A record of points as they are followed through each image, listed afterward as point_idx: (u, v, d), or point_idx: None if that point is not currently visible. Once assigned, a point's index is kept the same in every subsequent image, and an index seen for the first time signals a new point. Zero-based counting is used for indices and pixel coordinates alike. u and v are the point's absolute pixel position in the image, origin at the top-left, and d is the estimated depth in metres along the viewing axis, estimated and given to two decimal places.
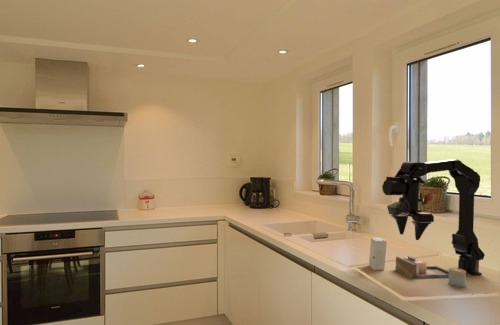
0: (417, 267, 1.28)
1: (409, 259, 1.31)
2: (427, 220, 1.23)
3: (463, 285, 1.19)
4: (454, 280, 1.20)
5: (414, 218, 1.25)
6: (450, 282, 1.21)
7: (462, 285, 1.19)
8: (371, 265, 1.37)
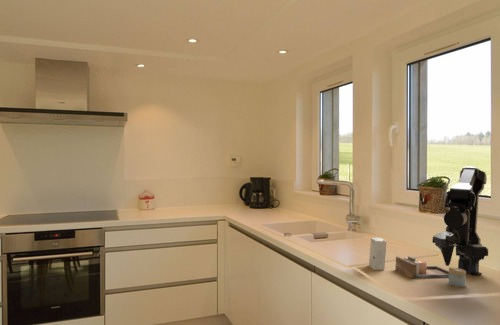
0: (417, 267, 1.28)
1: (409, 259, 1.31)
2: (481, 254, 1.12)
3: (463, 285, 1.19)
4: (454, 280, 1.20)
5: (466, 251, 1.14)
6: (450, 282, 1.21)
7: (462, 285, 1.19)
8: (371, 265, 1.37)
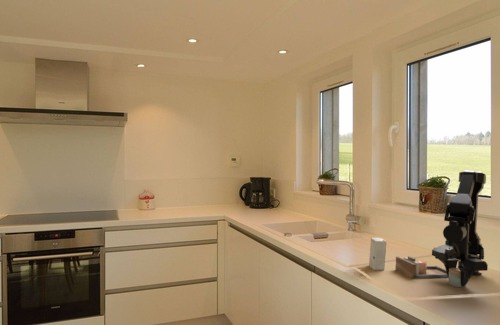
0: (417, 267, 1.28)
1: (409, 259, 1.31)
2: (481, 268, 1.12)
3: None
4: (454, 280, 1.20)
5: (465, 266, 1.14)
6: (450, 282, 1.21)
7: None
8: (371, 265, 1.37)
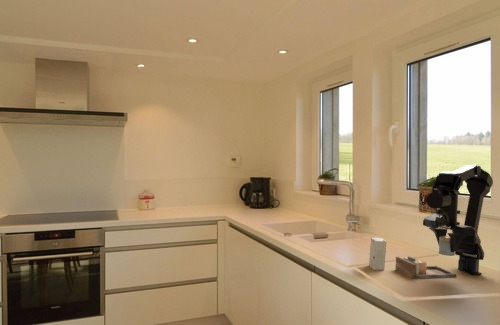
0: (417, 267, 1.28)
1: (409, 259, 1.31)
2: (469, 234, 1.18)
3: None
4: (444, 247, 1.26)
5: (455, 232, 1.20)
6: (440, 249, 1.27)
7: None
8: (371, 265, 1.37)
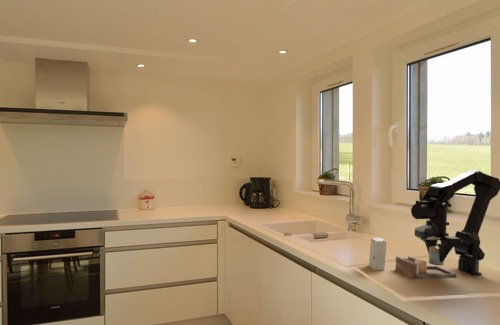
0: (417, 267, 1.28)
1: (409, 259, 1.31)
2: (456, 245, 1.24)
3: None
4: (433, 256, 1.32)
5: (443, 243, 1.26)
6: (430, 258, 1.33)
7: None
8: (371, 265, 1.37)
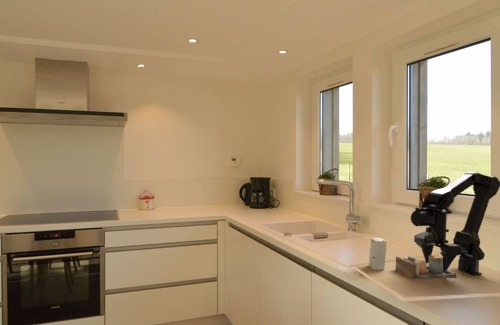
0: (417, 267, 1.28)
1: (409, 259, 1.31)
2: (456, 252, 1.24)
3: (441, 270, 1.31)
4: (432, 266, 1.32)
5: (442, 250, 1.26)
6: (429, 268, 1.33)
7: (440, 270, 1.31)
8: (371, 265, 1.37)
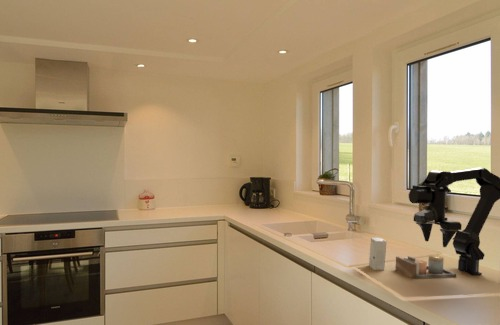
0: (417, 267, 1.28)
1: (409, 259, 1.31)
2: (455, 228, 1.27)
3: (441, 270, 1.31)
4: (432, 266, 1.32)
5: (442, 226, 1.29)
6: (429, 268, 1.33)
7: (440, 270, 1.31)
8: (371, 265, 1.37)
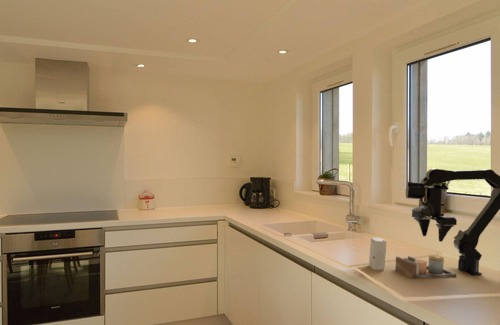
0: (417, 267, 1.28)
1: (409, 259, 1.31)
2: (451, 223, 1.33)
3: (441, 270, 1.31)
4: (433, 266, 1.32)
5: (438, 221, 1.35)
6: (429, 268, 1.33)
7: (440, 270, 1.31)
8: (371, 265, 1.37)
